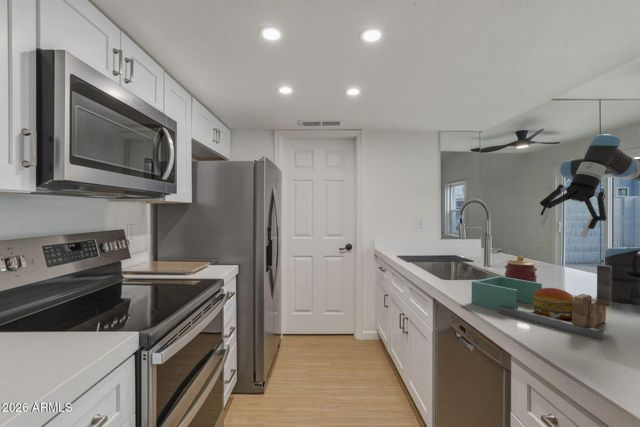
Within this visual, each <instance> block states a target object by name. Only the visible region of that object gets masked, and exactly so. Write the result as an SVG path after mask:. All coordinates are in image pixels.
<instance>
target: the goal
mask: <svg viewBox="0 0 640 427" xmlns="http://www.w3.org/2000/svg"><path fill="white" fill-rule="evenodd" d="M542 284H543V283H542V282H537V281H536V282H531V281H525V280H519V279H513V278H507V277H505V276H501V275H497V276H493V277H489V278H483V279H478V280H473V281H471V304H473V305H477V306H480V307H485V308H488V309H492V310H496V311H498V306H505V307H509V308H514V309H518V308H519V302H521V303H525V304H529V305H533V300H532V298H533V293H534V292H535V291H536V290H538V289H542V288H543V285H542ZM518 310H519V309H518Z"/></svg>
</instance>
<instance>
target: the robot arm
mask: <svg viewBox="0 0 640 427" xmlns="http://www.w3.org/2000/svg"><path fill="white" fill-rule="evenodd" d="M620 143H621V138H619V137H618V136H616V135H613V134H607V133H606V134H597V135H595V136H594V137H593V139H592V141H591V142H590V144H589V145H588V148H587V150H586V152H585V155H584V157H583V158H575V159H568V160H564V161H563V162H562V163H561V164H560V167H559V168H560V170H559V171H560V175H561V176H562V178H563V177H564V178H565V179H572V180H571V181H570V184H569V186H566V185H563V184H559V185H557V188H556V189H555V190H554V191H552V192H551V193H550V194H548V196H546V197H545V198H544V199H542V200H541V201H540V202H539V204H540V205H541V206H542V207H543V208H542V210H541V211H540V216H541V217H540V220H539V222H538V224H539V225H541V226H544V225H545V224H546V222H547V219H548V217H549V216H550V213H551V212H552V208H554V207H555V206H557V205H559V204H562V203H564V202H565V201H568V200H569V201H570V200H572V201H575V202H576V201H577V202H578V203H583V202H584V203H585V206H586V207H587V210H588V212H589V213H590V215H591V218H588V220H587V221H586V224H585V225H584V227H583V229H582V230H581V232H580V236H581V237H582V238H586V237H587V235H588V233H589V231H590V230H594V229H595V227H596V225H597V223H598V222H600V221H601V222H605V221H607V213H606V208H605V198H606V194H605V193H604V191H600V192H598V191H597V192H596V190H597V188H599V187H598V186H599V185H600V182H601V180H602V178H618V179H621V180H623V181H637V182H640V156H638V157H632V156H630V155H628V154H626V153H625V152H624V151H622V150H621V149H619V148H618V147H619V146H620ZM565 191H566V193H564V194H562V193H563V192H565ZM560 194H562V195H561V196H560ZM558 196H559V197H558ZM593 197H595V198H596V200H597V207H598V214H599V215H598V214H597V212H596V210H595V208H594V206H593V204H592V202H591V199H592V198H593ZM604 265H607V266H612V301H613V302H618V303H624V304H631V305H633V304H634V305H640V246H635V247H633V246H632V247H627V246H626V247H624V246H623V247H609V248H607V249H605V252H604Z"/></svg>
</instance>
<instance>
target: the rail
mask: <svg viewBox="0 0 640 427" xmlns="http://www.w3.org/2000/svg"><path fill="white" fill-rule="evenodd" d="M497 311H498V312H497V313H498V314H500V315H505V316H509V317H513V318H515V319H519V320H520V319H521V320H524V321H528V322H531V323H535V324H539V325H542V326H546V327H550V328H555V329H558V330H560V331H565V332H569V333H572V334H576V335H580V336H583V337H587V338H591V339H594V340H599V341H603V340H604V339H605V330H603V329H600V328H595V327H594V328H591V327H587V326H584V327H583V326H579V325H575V324H572V321H571V322H569V321H566V320H564V319H556V318H550V317H546V316H542V315H540V314H537V313H533V312H531V311H525V310H521V309H514V308H509V307H505V306H498V310H497Z"/></svg>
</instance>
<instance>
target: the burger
mask: <svg viewBox="0 0 640 427" xmlns="http://www.w3.org/2000/svg"><path fill="white" fill-rule="evenodd" d="M574 297H575V296H573V295H572V294H570V293H569V292H568V291H566V290H563V289H560V288H555V287H542V289H538V290H536V291H535V292H534V293H533V298H532V300H533V304H531V307H532V310H533V311H534V312H535V314H538V315H542V316H546V317H550V318H554V319H559V320H572V301H574Z"/></svg>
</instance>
